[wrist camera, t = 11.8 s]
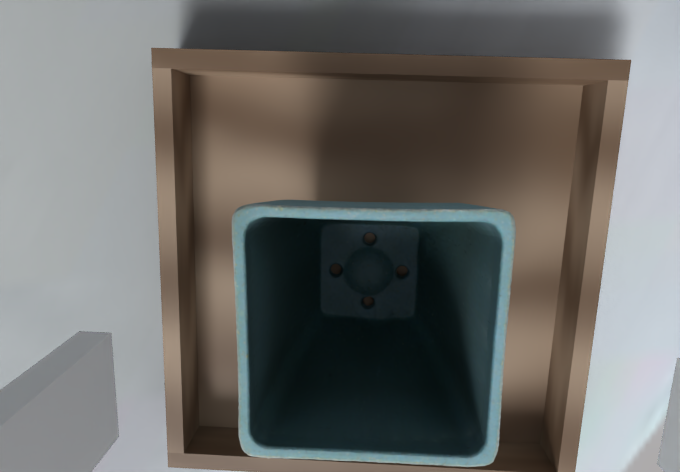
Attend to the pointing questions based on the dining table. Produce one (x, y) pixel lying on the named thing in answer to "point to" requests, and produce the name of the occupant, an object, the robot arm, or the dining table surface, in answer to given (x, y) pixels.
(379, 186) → the box
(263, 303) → the flower pot
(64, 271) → the dining table surface
